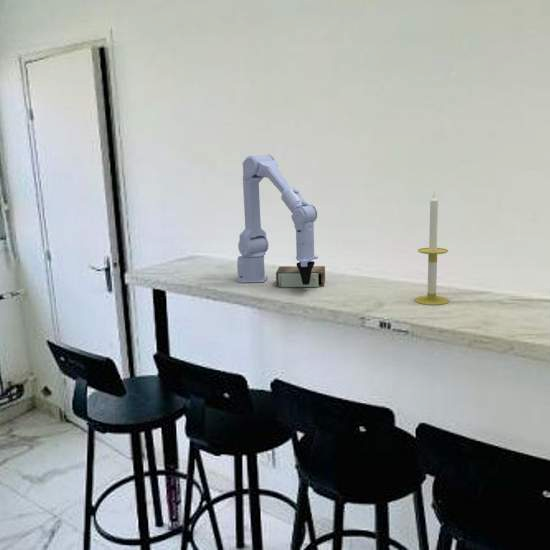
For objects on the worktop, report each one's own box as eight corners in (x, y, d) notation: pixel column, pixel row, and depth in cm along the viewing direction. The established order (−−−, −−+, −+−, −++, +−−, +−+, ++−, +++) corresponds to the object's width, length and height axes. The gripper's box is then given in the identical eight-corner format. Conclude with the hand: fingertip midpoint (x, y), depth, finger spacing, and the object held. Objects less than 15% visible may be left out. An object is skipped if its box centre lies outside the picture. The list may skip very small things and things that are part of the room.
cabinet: (276, 286, 204) (275, 272, 203) (279, 280, 213) (279, 266, 212) (323, 286, 202) (323, 272, 200) (325, 280, 211) (324, 266, 210)
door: (278, 287, 201) (277, 274, 200) (278, 286, 203) (278, 273, 202) (318, 287, 199) (318, 274, 198) (318, 286, 201) (318, 273, 200)
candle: (449, 297, 183) (452, 189, 176) (448, 305, 174) (452, 192, 167) (415, 296, 186) (417, 190, 179) (413, 304, 177) (415, 193, 170)
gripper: (316, 246, 186) (317, 289, 189) (318, 239, 200) (319, 279, 203) (293, 247, 187) (294, 289, 190) (297, 239, 201) (298, 279, 204)
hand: (306, 284), depth 197 cm, fingers closed
